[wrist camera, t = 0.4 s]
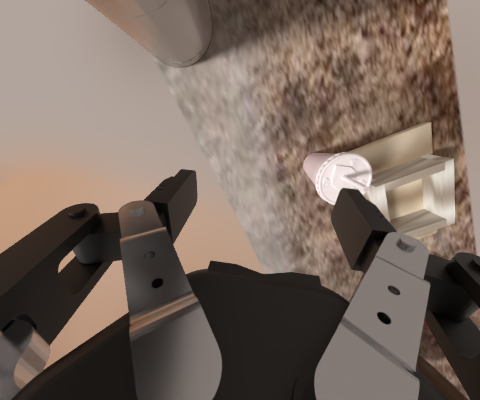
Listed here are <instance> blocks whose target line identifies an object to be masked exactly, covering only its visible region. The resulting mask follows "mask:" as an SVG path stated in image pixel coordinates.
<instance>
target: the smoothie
mask: <svg viewBox="0 0 480 400" xmlns="http://www.w3.org/2000/svg"><path fill="white" fill-rule="evenodd" d="M303 167H304V170H305V172H306V173H307V175H308V176H309V177H310V179H311V180H312V182H313V183H314V184H315V186H316V190H317V192H318V194H319V195H320V196H321V198H322V199H324V200H325V201H327V202H328V203H330V204H333V205H335V203H336V200H337V197H338V195H339V192H340V190H341V189H342V188H350V189H358V190H359V191H360V192H361V193H362V195H364V194H365V193H366V192H367V191H368V190H369V186H370V184H371V181H372V168H371V166H370V164H369V162H368V161H367V160H366V159H365V158H364V157H362V156H360V155H358V154H355V153H352V152H342V153H338V154H330V153H312V154H310V155H309V156H307V158H306V159H305V161H304V164H303Z"/></svg>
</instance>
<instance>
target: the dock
mask: <svg viewBox="0 0 480 400" xmlns="http://www.w3.org/2000/svg"><path fill="white" fill-rule="evenodd" d="M348 152H352V153H355V154H358V155H360V156H362V157H364V158H365V159H366V160H367V161H368V162H369V164H370V166H371V168H372V181H371V184H370V186H369V190H368V191H367V192H366V193H365V194H364V195H363V196H364V197H365V199H367V200H369V201H370V202H372V203H373V204H374V205H376V206H377V208H378V209H379V210H380V211H381V213H382V214H383V215H384V216H385V218H386V219H387V220H388V221H389V222H390V223H391V225H392V226H393V227H394V228H395V230H396V231H397V232H398V233H403V234H406V235H409V236H411V237H413V238H415V239H419V238H422V237H425V236H429V235H432V234H435V233H437V229H438V228H441V227H444V226H447V225H450V224H453V223H455V191H454V159H453V158H447V157H442V156H436V155H433V150H432V130H431V122H422V123H420V124H417V125H415V126H412V127H410V128H407V129H405V130H402V131H399V132H397V133H394V134H392V135H389V136H387V137H384V138H381V139H379V140H376V141H374V142H371V143H369V144H366V145H364V146H361V147H358V148H356V149H353V150H351V151H348Z"/></svg>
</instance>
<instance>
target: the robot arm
mask: <svg viewBox="0 0 480 400" xmlns="http://www.w3.org/2000/svg"><path fill="white" fill-rule="evenodd" d="M85 1H87V2H88V3H89V4H91V5H92V6H93V7H95V8H96V9H97V10H98V11H99V12H101V13H102V14H103V15H104V16H105V17H107V18H108V19H109V20H110V21H112V22H113V23H114V24H115V25H116V26H118V27H119V28H120V29H121V30H123V31H124V32H125V33H126V34H127V35H129V36H130V37H131V38H132V39H134V40H135V41H136V42H137V43H138V44H140V45H141V46H142V47H143V48H144V49H146V50H147V51H148V52H149V53H151V54H152V55H153V56H154V57H156V58H157V59H158V60H160V61H161V62H163V63H165V64H167V65H169V66H173V67H186V66H189V65H192V64H194V63H195V62H197V61H198V60H199V59H200V58H201V57H202V56H203V55H204V54H205V52H206V50H207V49H208V46H209V43H210V41H211V35H212V19H211V14H210V9H209V4H208V0H85ZM196 202H197V180H196V172H195V171H193V170H184V169H181V170H180V171H179V172H178V173H177V174H176V175H175V176H174V177H170V178H167V179H165V180H164V181H163V182H162V183H161V184H159V186H158V187H156V189H155V190H154V191H152V192H151V193H150V195H149V196H147V197H146V199H144V200H143V201H141V200H140V201H133V202H130V203H127V204H126V205H124V206H122V207H121V208H120V209H119V211H118V212H117V213H103V214H100V212H99V209H98V207H97V206H96V205H95V204H90V203H83V204H77V205H73V206H70V207H68V208H65V209H64V210H62V211H60V212H59V213H58V214H56V215H55V216H53V217H52V218H50V219H49V220H48V221H46V222H45V223H44V224H42V225H41V226H39V227H38V228H36V229H35V230H34V231H32V232H31V233H30V234H28V235H26V236H25V237H24V238H22V239H21V240H19V241H18V242H17V243H15V244H14V245H12V246H11V247H9V248H8V249H7V250H5V251H4V252H2V253H1V254H0V400H449V399H448V398H447V397H446V396H445V395H444V394H443V393H442V392H441V391H440V390H438V389H437V388H436V387H435V386H434V385H433V384H432V383H431V382H430V381H429V380H428V379H427V378H426V377H425V376H424V375H423V374H422V373H421V372H420V371H419V370H418V369H417V368H416V363H417V357H418V352H419V346H420V341H421V335H422V329H423V324H424V320H425V321H426V323H427V325H428V327H429V328H430V330H431V332H432V334H433V335H434V337H435V339H436V341H437V342H438V344H439V346H440V347H441V349H442V351H443V353H444V354H445V356H446V358H447V360H448V361H449V363H450V365H451V367H452V368H453V370H454V372H455V374H456V375H457V377H458V379H459V381H460V382H461V384H462V386H463V387H464V389H465V391H466V393H467V394H468V396H469V398H470V400H480V331H479V330H478V328H477V327H476V326H475V324H474V323H473V322H472V321H471V319H470V318H469V316H471V315H472V314H473V313H474V312H475V311H477V310H478V309H479V308H480V257H479V256H476V255H474V254H470V253H464V252H460V253H457V254H456V255H455V256H454V257H453V258H452V259H451V260H450V261H449V260H446V259H443V258H440V257H437V256H434V255H430V254H429V251H428V249H427V248H426V246H425V245H424V244H423V243H421V242H420V241H418V240H417V239H415V238H413V237H411V236H409V235H406V234H403V233H398V232H397V231H396V230H395V228H394V227H393V226H392V225H391V223H390V222H389V221H388V220H387V219H386V218H385V216H384V215H383V214H382V213H381V211H380V210H379V209H378V208H377V206H376V205H374V204H373V203H372V202H370V201H369V200H367V199H365V197H364V196H363V195H362V193H361V192H360V191H359V190H358V189H350V188H342V189H341V190H340V192H339V195H338V197H337V200H336V203H335V205H334V208H333V211H332V214H331V222H332V225H333V227H334V229H335V232H336V234H337V237H338V239H339V241H340V244H341V246H342V248H343V251H344V253H345V256H346V258H347V260H348V263H349V265H350V267H351V270H357V271H363V273H364V274H363V276H362V278H361V280H360V281H359V283H358V285H357V287H356V289H355V290H354V292H353V294H352V296H351V298H350V299H349V301H347V300H346V299H344V298H343V297H342V296H340V295H339V294H337V293H335V292H334V291H332V290H330V289H328V288H326V287H323V286H321V283H320V279H319V276H314V275H307V274H300V273H293V272H288V273H275V274H261V273H258V272H256V271H253V270H250V269H248V268H245V267H242V266H240V265H237V264H231V263H223V262H217V261H210V264H209V267H208V269H203V270H197V271H194V272H191V273H188V274H186V275H185V272H184V270H183V267H182V265H181V263H180V261H179V258H178V256H177V253H176V251H175V248H174V246H173V243H174V242H175V240H176V238H177V237H178V235H179V233H180V232H181V230H182V228H183V226H184V224H185V223H186V221H187V219H188V217H189V216H190V214H191V212H192V210H193V209H194V207H195V205H196ZM72 250H73V251H74V253H75V255H76V256H75V257H74V258H73V259H72V260H71V261H70V262H69V263H68V264H67V265H66V266H65V267H64V268H63V269H62V270H61V272H59V273H58V267H59V264H60V262H61V260H62V259H63V258H64V257H65V256H66V255H67V254H68V253H69V252H70V251H72ZM117 260H122V263H123V271H124V278H125V286H126V294H127V301H128V309H129V312H128V313H127V314H125V315H124V316H122V317H121V318H119V319H118V320H116V321H115V322H114V323H112V324H110V325H109V326H108V327H106V328H105V329H103V330H102V331H100V332H99V333H97V334H96V335H95V336H93V337H91V338H90V339H89V340H87V341H86V342H84V343H83V344H81V345H80V346H78V347H77V348H75V349H74V350H72V351H71V352H69V353H68V354H67V355H65V356H64V357H62V358H61V359H59V360H58V361H56V362H55V363H53V364H52V365H50V366H49V367H47V368H46V369H45V370H43V368H44V367H45V365H46V363H47V361H48V359H49V355H50V344H51V343H52V342H53V340H54V339H55V338H56V337H57V335H58V334H59V333H60V331H61V330H62V329H63V327H64V326H65V325H66V323H67V322H68V321H69V319H70V318H71V317H72V315H73V314H74V313H75V311H76V310H77V309H78V307H79V306H80V305H81V303H82V302H83V301H84V299H85V298H86V297H87V295H88V294H89V293H90V292H91V290H92V289H93V288H94V286H95V285H96V284H97V282H98V281H99V279H100V278H101V277H102V275H103V274H104V273H105V272H106V270H107V269H108V268H109V266H110V265H111V264H112V262H113V261H117Z"/></svg>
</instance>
